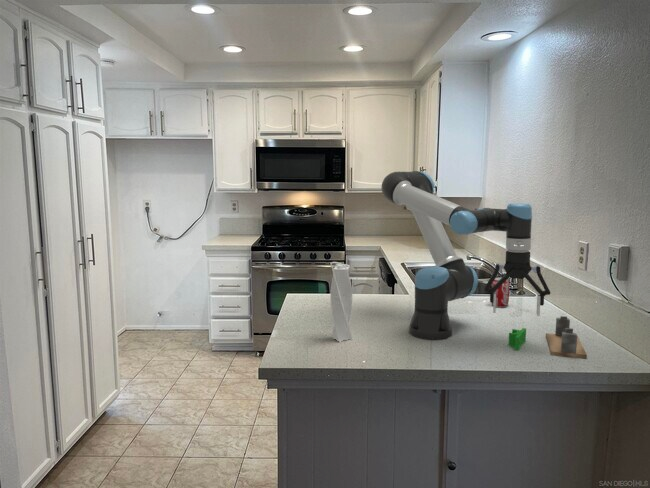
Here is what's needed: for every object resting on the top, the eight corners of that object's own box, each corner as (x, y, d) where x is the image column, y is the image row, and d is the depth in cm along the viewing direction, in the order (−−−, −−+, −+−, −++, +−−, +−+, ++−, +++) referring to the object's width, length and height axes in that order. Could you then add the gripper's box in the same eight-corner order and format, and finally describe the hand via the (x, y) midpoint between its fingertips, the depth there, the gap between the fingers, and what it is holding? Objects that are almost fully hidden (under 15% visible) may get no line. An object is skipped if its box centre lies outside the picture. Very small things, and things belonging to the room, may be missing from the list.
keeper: (551, 354, 153) (552, 329, 152) (545, 336, 170) (547, 313, 168) (586, 358, 150) (588, 332, 148) (577, 339, 166) (579, 315, 165)
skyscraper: (337, 344, 165) (336, 263, 160) (326, 338, 171) (325, 260, 167) (356, 339, 169) (356, 261, 164) (344, 333, 175) (344, 258, 171)
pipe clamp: (514, 339, 168) (514, 326, 168) (525, 341, 166) (526, 328, 165) (505, 348, 159) (506, 335, 158) (517, 351, 157) (518, 337, 156)
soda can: (510, 305, 209) (511, 278, 207) (506, 309, 203) (507, 281, 202) (493, 303, 213) (494, 276, 211) (489, 306, 207) (490, 279, 205)
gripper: (477, 251, 159) (476, 313, 162) (561, 253, 151) (558, 319, 154) (478, 247, 166) (477, 307, 169) (558, 250, 158) (555, 313, 161)
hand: (515, 313), depth 161 cm, fingers open, 13 cm apart
